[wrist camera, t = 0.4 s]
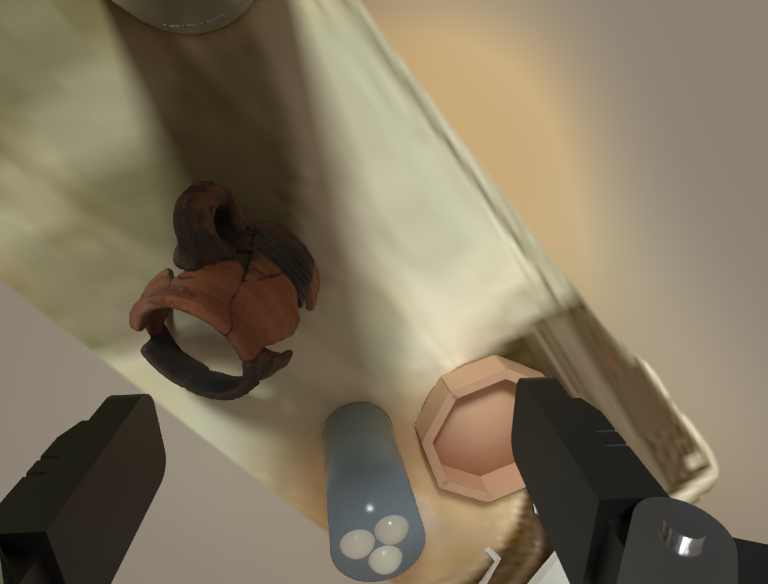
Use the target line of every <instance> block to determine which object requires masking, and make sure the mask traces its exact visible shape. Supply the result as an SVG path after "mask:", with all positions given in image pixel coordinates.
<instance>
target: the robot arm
mask: <svg viewBox="0 0 768 584" xmlns="http://www.w3.org/2000/svg"><path fill="white" fill-rule="evenodd" d="M111 1H113V2H114V3H116V4H117V5H118V6H120V7H121V8H123V9H124V10H126V11H127V12H129V13H130V14H131V15H133V16H134V17H136V18H137V19H139V20H140V21H142V22H144V23H147V24H149V25H151V26H153V27H156V28H158V29H160V30H165V31H169V32H174V33H178V34H201V33H205V32H210V31H214V30H218V29H220V28H222V27H224V26H226V25H228V24H230V23H232V22H233V21H235V20H236V19H237V18H238V17H239V16H241V15H242V14H243V13H244V12H245V11H246V10H247V9H248V8H249V7H250V5H251V4H252V3H253V1H254V0H111ZM511 446H512V453H513V457H514V461H515V463H516V466H517V468H518V470H519V472H520V475H521V477H522V479H523V481H524V484H525V486H526V488H527V490H528V492H529V495H530V497H531V499H532V501H533V503H534V506H535V508H536V510H537V512H538V515H539V517H540V519H541V521H542V523H543V526H544V528H545V530H546V532H547V534H548V537H549V539H550V541H551V543H552V546H553V548H554V550H555V552H556V554H557V557H558V559H559V561H560V563H561V565H562V568H563V570H564V572H565V574H566V577H567V579H568V581H569V583H570V584H768V545H767V544H762V543H757V542H752V541H747V540H741V539H738V538H734V537H732V536H731V535H730V533H729V532H728V531H727V530H726V528H725V527H724V526H723V525H722V524H721V523H720V522H719V521H717V520H716V519H715V518H714V517H712V516H711V515H710V514H708V513H706V512H705V511H704V510H702V509H700V508H698V507H696V506H694V505H692V504H689V503H687V502H684V501H681V500H678V499H673V498H670V497H669V496H668V494H667V493H666V492H665V491H664V489H663V488H662V487H661V486H660V484H659V483H658V482H657V481H656V479H655V478H654V477H653V476H652V474H651V473H650V472H649V471H648V469H647V468H646V467H645V466H644V464H643V463H642V462H641V461H640V459H639V458H638V457H637V456H636V454H635V453H634V452H633V451H632V449H631V448H630V447H629V446H626V442H625V441H624V440H623V438H622V437H621V436H620V435H619V433H618V432H615V428H614V427H613V426H612V425H611V423H610V422H609V421H608V420H607V418H606V417H605V416H604V415H603V413H602V412H601V411H599V410H598V409H596V408H595V407H593V406H592V405H590V404H589V403H587V402H586V401H584V400H583V399H581V398H571V397H570V396H569V395H568V393H567V392H566V391H565V389H564V388H563V387H562V385H561V384H560V383H559V381H558V380H557V379H556V378H555V377H553V376H551V377H529V378H520V379H519V380H518V382H517V385H516V393H515V403H514V412H513V422H512V431H511ZM165 465H166V455H165V449H164V444H163V440H162V435H161V431H160V426H159V422H158V417H157V413H156V409H155V404H154V401H153V399H152V397H151V396H150V395H149V394H134V395H112V396H109V397H108V398H107V399H106V400H105V401H104V402H103V403H102V405H101V406H100V407H99V408H98V409H97V411H96V412H95V413H94V415H93V416H92V417H91V418H90V419H89V420H88V421H81V422H79V423H78V424H77V425H75V426H73V427H72V428H71V429H69V430H68V431H66V432H65V433H63V434H62V435H60V436H59V437H57V438H56V440H55V441H54V442H53V443H52V444H51V445H50V446H49V448H48V449H47V450H46V451H45V452H44V454H42V456H41V459H40V460H39V461H36V463H35V464H34V465H33V466H32V467H31V468H30V469H29V471H28V472H27V473H26V474H27V475H26V477H22V479H21V480H20V481H19V482H18V483H17V484H16V485H15V487H14V488H13V489H12V490H11V491H10V492H9V493H8V495H7V496H6V497H5V498H4V499H3V501H2V502H1V503H0V584H111V583H112V580H113V579H114V577H115V575H116V573H117V570H118V569H119V567H120V564H121V562H122V560H123V559H124V556H125V555H126V552H127V551H128V549H129V546H130V544H131V542H132V540H133V538H134V536H135V534H136V532H137V530H138V528H139V526H140V524H141V522H142V520H143V518H144V516H145V514H146V512H147V510H148V508H149V506H150V504H151V502H152V500H153V498H154V496H155V494H156V492H157V490H158V488H159V486H160V484H161V482H162V479H163V476H164V472H165Z"/></svg>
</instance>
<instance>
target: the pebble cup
mask: <svg viewBox="0 0 768 584" xmlns="http://www.w3.org/2000/svg"><path fill="white" fill-rule="evenodd" d="M323 449H324V464H325V478H326V493H327V508H328V522H329V537H330V551H331V558H332V561H333V563H334V565H335V566H336V567H337V569H338V570H339V571H340V572H341V573H343V574H344V575H346V576H347V577H349V578H352V579H354V580H358V581H363V582H378V581H383V580H387V579H390V578H393V577H396V576H398V575H400V574H401V573H403V572H405V571H406V570H407V569H409V568H410V567H411V566H412V565H413V564H414V563H415V562H416V561H417V559H418V558H419V556H420V555H421V553H422V551H423V548H424V545H425V531H424V527H423V524H422V521H421V518H420V514H419V511H418V508H417V505H416V502H415V498H414V495H413V492H412V489H411V485H410V482H409V479H408V476H407V472H406V469H405V466H404V463H403V460H402V456H401V453H400V450H399V447H398V443H397V440H396V437H395V434H394V431H393V427H392V424H391V421H390V419H389V417H388V415H387V414H386V413H385V412H384V411H383V410H382V409H381V408H379V407H378V406H376V405H373V404H370V403H365V402H356V403H350V404H347V405H344V406H342V407H340V408H339V409H337V410H336V411H335V412H333V413H332V414H331V415H330V417H329V418H328V419H327V421H326V423H325V425H324V428H323Z"/></svg>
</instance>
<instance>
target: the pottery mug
mask: <svg viewBox="0 0 768 584" xmlns="http://www.w3.org/2000/svg"><path fill="white" fill-rule="evenodd" d="M173 224H174V230H175V234H176V237H177V241H178V245H177V246H176V249H175V252H174V256H173V261H174V264H175V265H176V266H177V267H178V268H180V269H183V270H185V271H184V272H183V273H181V274H179V275H178V276H177V277H175V278H174V275H173V271H172V270H171V269H169V268H167V269H165V270H163V271H162V272H161V273H159V274H158V275H157V276H155V278H154V279H152V280H151V281H150V282H149V283H148V284H147V286H146V288H145V290H144V291H143V293H142V295H141V299H139V300H138V301H137V302H136V303H135V304H134V306H133V307H132V310H131V311H130V317H129V324H130V327H131V328H132V329H134V330H136V331H142V330H143V329H144V328H146V330H147V331H148V333H149V335H150V336H151V339H150V340H149V341H148V342H147V343H146V344H144V345H143V346H142V348H141V353H142V355H143V356H144V357H145V358H146V360H147V361H148V362H149V363H150V364H151V365H152V366H153V367H154V368H155V369H156V370H157V371H158V372H159V373H161V374H162V375H163V376H165V377H166V378H167V379H169V380H170V381H172V382H173V383H175V384H177V385H179V386H180V387H183V388H185V389H187V390H188V391H190V392H192V393H195V394H196V395H200V396H204V397H207V398H210V399H216V400H234V399H236V398H240V397H242V396H244V395H246V394H248V393H249V391H251V390H252V389H253V388H254V387H256V386H257V385H259V383H260V382H259V381H260V380H264V379H265V378H268V377H270V376H272V375H273V374H274V373H275V372H277V371H278V370H280V369H281V368H283V367H285V366H287V364H288V362H289V361H290V359H291V357H292V355H293V351H292V350H287V351H285V352H283V353H279V352H273V351H270V350H269V349H267V348H265V346H267V345H272V344H275V343H276V342H278V341H281V340H284V339H285V338H287V337H289V336H291V335H293V334H294V332H295V330H296V328H297V327H298V324H299V322H300V317H299V311H298V308H301V307H302V306H303V303H304V301H305V299H306V309H307V310H309V311H312V310H313V309H314V308H315V305H316V301H317V294H318V291H319V275H318V271H317V268H316V265H315V263H314V260H313V258H312V256H311V255H310V253H309V252H308V250H307V249H306V247H305V246H304V245H303V244H302V243H301V242H300V241H299V240H298V239H297V238H296V237H295V236H294V235H293V234H291V233H290V232H289V231H287V230H285V229H283V228H281V227H279V226H277V225H275V224H272V223H270V222H267V221H265V222H263V223H261V224H257V225H254V226H253V224H252V222H251V221H249V220H248V219H247V218H246V216H245V215H244V213H243V211H242V210H241V208H240V206H239V203H238V201H237V199H236V197H235V196H234V195H233V193H232V192H230V191H229V190H228V189H226V188H224V187H222V186H221V185H219V184H218V183H214V182H211V181H208V182H204V181H196V182H194V183H193V184H192V185H191V186H190V187H189V188H188V189H187V190H185V191H184V192H183V193H182V194H181V196H180V197H179V198H178V200H177V202H176V205H175V208H174V213H173ZM238 253H248V254H249V259H248V262H247V265H246V267H245V266H243V265H242V264H241V262H239V261H238V260H236V259H234V258H233V257H234V256H235V255H236V254H238ZM169 308H172V309H177V310H181V311H183V312H186V313H189V314H191V315H193V316H195V317H197V318H199V319H201V320H203V321H205V322H206V323H208V324H209V325H211V326H212V327H214V328H215V329H216V330H217V331H218V332H220V333H221V334H222V335H224V336H225V337H226V339H227V340H228V341H229V342H230V344H231V345H232V346H233V348H234V349H235V351H236V352H237V354H238V356H239V358H240V360H241V361H242V363H243V376H231V375H227V374H224V373H221V372H216V371H210V370H209V368H208V367H207V366H206V365H204V364H203V363H201V362H199V361H197V360H195V359H194V358H192V357H190V356H189V355H188V354H186V353H185V352H183V351H182V350H181V348H180V347H179V346H178V345H177V344H176V342H175V340H174V339H173V337H172V336H171V334H170V333H169V331H168V329H167V327H166V326H165V324H164V322H165V319H166V317H167V314H168V311H169Z"/></svg>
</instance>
